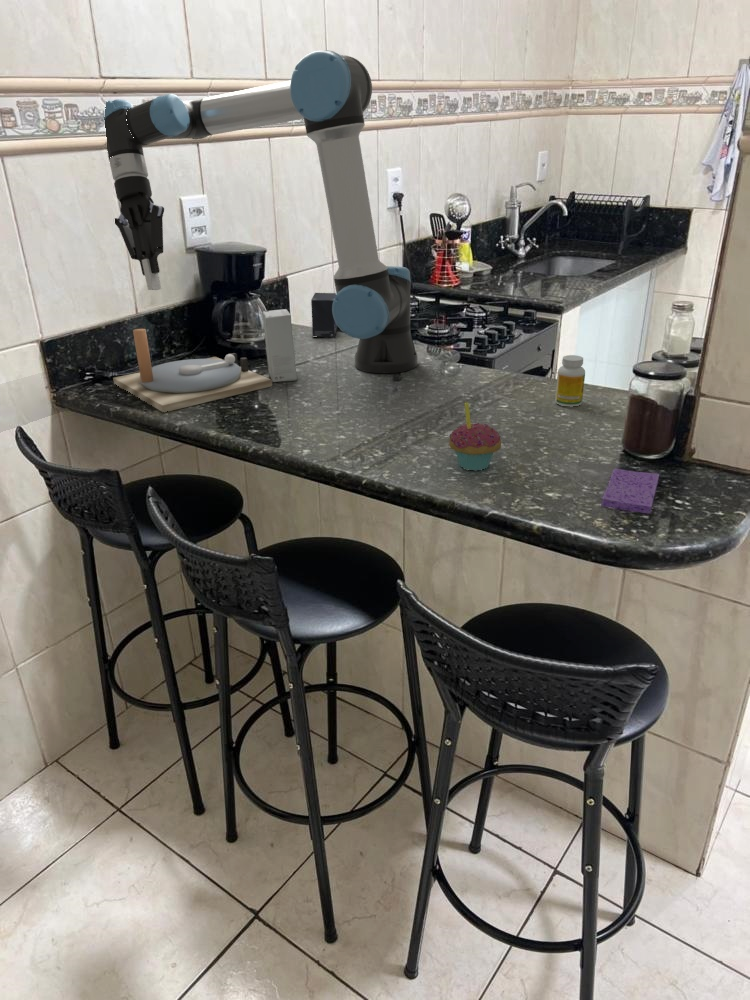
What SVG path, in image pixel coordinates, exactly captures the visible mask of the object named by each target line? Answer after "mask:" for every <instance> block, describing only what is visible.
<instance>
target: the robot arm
mask: <svg viewBox="0 0 750 1000" xmlns="http://www.w3.org/2000/svg"><path fill="white" fill-rule="evenodd" d="M372 82H373V81H372V79H371V75H370V73H369V71H368V69H367V68H366V66H365V65H364V64H363V63H362V62H361V61H359V59H357V58H355V57H352V56H350V55H345V54H342V53H341V54H340V53H337V52H335V51H334V50H328V49H327V50H316V51H313V52H310V53H307V54H305V56H303V57H302V58H301V59H300V60H299V61H298V62H297V63H296V65H295V68H294V69H293V71H292V73H291V77H290V80H287V81H281V82H276V83H272V84H267V85H262V86H256V87H251V88H247V89H243V90H236V91H233V92H227V93H222V94H216V95H213V96H212V95H211V96H207V97H203V98H196V99H191V100H182V99H181V98H179V96H178V95H176V94H173V93H168V94H165V95H159V96H157V97H155V98H153V99H150V100H148V101H145V102H143V103H141V104H137V105H135V106H134V105H133V104H132V102H131V101H128V100H125V99H114V100H107V101H108V102H107V101H105V102H106V107H105V108H106V109H105V117H104V120H105V128H106V137H107V148H106V151H108V152H107V158H108V162H110V163H109V166H110V170H111V174H112V175H111V176H112V179H113V181H114V182H113V187H114V190H115V195H116V198H117V200H118V201H119V204H120V214H119V216H118V218H117V217H115V218H114V219H115V223H114V224H115V225H116V227H117V228H118V230H119V232H120V233H121V237H122V239H123V242H124V244H125V247H126V249H127V251H128V253H129V256H130V258H131V259H132V260H135V261H136V260H137V261H138V262H139V264H140V269H141V272H142V275H143V276H144V277H145V283H146V287H147V290H148V291H158V290H161V289H162V286H161V282H160V277H159V273H160V266H159V261H158V257H159V256H160V255H161V254H163V253H164V232H163V231H164V230H163V228H164V227H163V226H164V225H163V217H164V213H165V207H164V206H161V205H157V204H155V202H154V200H153V199H152V195H153V192H152V188H151V182H150V179H148V177H149V173H148V167H147V164H146V158H145V154H144V150H143V146H149V145H150V144H153V143H157V142H160V141H162V140H183V139H191V140H201V139H204V138H208V137H210V136H214V135H219V134H225V133H232V132H236V131H241V130H248V129H253V128H259V127H265V126H270V125H271V126H272V125H277V124H283V123H288V122H294V121H299V120H303V122H304V127H305V131H306V136H307V137H308V138H309V139H310V140H312V141H313V142H314V143H315V145H316V150H317V153H318V159H319V165H320V170H321V171H320V172H321V176H322V181H323V187H324V192H325V193H324V194H325V198H326V204H327V209H328V214H329V215H328V216H329V220H330V225H331V231H332V236H333V242H334V247H335V253H336V258H337V264H338V268H337V270H336V272H335V274H334V275H333V281H334V286H335V293H336V296H335V298H334V301H333V305H332V313H333V318H334V320H335V322H336V324H337V328H339V329H340V331H341V332H343V333H345V335H347V336H348V337H351V338H352V339H353V338H354V339H358V345H357V348H356V352H355V355H354V366H355V368H356V369H358V370H360V371H363V372H367V373H374V374H394V373H395V374H396V373H403V372H407V371H411V370H413V369H415V368H416V367H417V366H418V353H417V351H416V347H415V343H414V341H413V340H414V339H413V337H412V334H411V285H412V279H411V272H410V269H409V268H407V267H404V266H391V265H390V266H388V265H386V264H384V263H383V262H382V261H380V259H379V253H378V246H377V240H376V235H375V229H374V222H373V216H372V211H371V204H370V197H369V191H368V190H369V189H368V185H367V179H366V172H365V167H364V159H363V154H362V147H361V143H360V141H361V140H360V134H361V132H362V130H363V129H364V127H365V117H364V112H365V111H366V110H367V108H368V106H369V105H370V101H371V99H372V95H373V83H372ZM129 108H130V109H129ZM127 110H128V111H127ZM126 112H127V115H126ZM126 119H127V121H126ZM127 124H128V125H127ZM129 130H130V131H129ZM130 132H131V133H130ZM131 134H132V135H131ZM133 137H134V138H133ZM112 156H113V157H112ZM110 157H111V158H110Z"/></svg>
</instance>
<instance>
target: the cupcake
mask: <svg viewBox="0 0 750 1000" xmlns="http://www.w3.org/2000/svg"><path fill="white" fill-rule="evenodd" d="M464 411H465V421H466V424H462V425H460V426H458V427H457V426H456V429H453V431H452V432H451V433H450V434H449V438H448V439H449V440H448V444H449V447H450V449H451V450H454V452H455V455H456V457H457V461H458V466H459V467H460V466H461V467H463V468H465V469H469V470H481V469H484V470H486V469H487V468H488V467H489V464H490V461H491V460H492V457H493V455H494V453H495V452H497V451H498V450H501V447H502V440H501V437H502V436H501V435H500V434H499V432H498V431H496V429H495V428H493V427H491V426H490V425H489V424H483V423H479V422H477V423H471V414H470V413H471V412H470V405H469V402H468V401H467V398H464ZM461 467H460V468H461ZM485 468H486V469H485ZM465 469H464V470H465ZM481 471H482V470H481Z"/></svg>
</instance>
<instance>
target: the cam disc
mask: <svg viewBox="0 0 750 1000" xmlns="http://www.w3.org/2000/svg"><path fill="white" fill-rule="evenodd" d="M132 332H133V340H134V345H135V351H136V352H135V353H136V358H137V364H138V369H139V370H138V371H139V372H140V382H141V385H142V386H143V387H145V388H147V389H150V390H153V391H159V392H169V393H185V392H197V391H205V390H210V389H215V388H219V387H222V386H225V385H228V384H230V383H233V382H234V381H236V380H237V379H239V378H240V376H241V371H240V367H241V366H239V364H238V365H237V364H235V363H234V362H235V357H234V356H233V355H232V354H231V353H228V354H226V355H225V357H224V359H222V360H218V359H206V358H195V359H194V358H191V359H190V358H189V359H182V360H174V361H169V362H164V363H161V364H157V365H154V366H152V362H151V361H152V360H151V355H150V347H149V343H148V342H149V341H148V335H147V329H146V328H135V329H133V330H132Z"/></svg>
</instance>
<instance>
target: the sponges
mask: <svg viewBox="0 0 750 1000" xmlns="http://www.w3.org/2000/svg"><path fill="white" fill-rule="evenodd" d="M659 478H660V474H659V473H656V472H655V473H652V472H642V471H634V470H626V469H621V468H613V471H612V473H611V477H610V479H609V482H608V484H607V486H606V489H605V491H604V493H603V497H602V499H601V504H600V506H601V507H603V508H610V509H617V510H622V511H629V512H635V513H642V514H649V515H650V514H651V511H652V507H653V504H654V499H655V496H656V491H657V488H658V487H657V486H658V484H659Z"/></svg>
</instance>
